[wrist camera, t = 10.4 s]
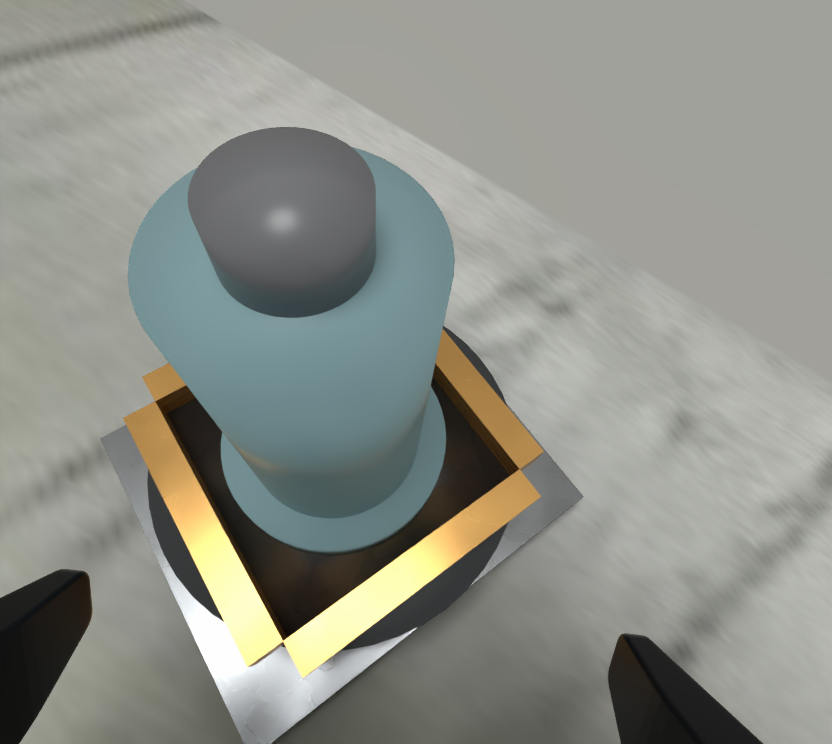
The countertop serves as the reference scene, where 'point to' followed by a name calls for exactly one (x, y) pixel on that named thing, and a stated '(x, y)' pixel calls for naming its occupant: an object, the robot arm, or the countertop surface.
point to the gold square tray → (317, 574)
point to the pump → (305, 329)
